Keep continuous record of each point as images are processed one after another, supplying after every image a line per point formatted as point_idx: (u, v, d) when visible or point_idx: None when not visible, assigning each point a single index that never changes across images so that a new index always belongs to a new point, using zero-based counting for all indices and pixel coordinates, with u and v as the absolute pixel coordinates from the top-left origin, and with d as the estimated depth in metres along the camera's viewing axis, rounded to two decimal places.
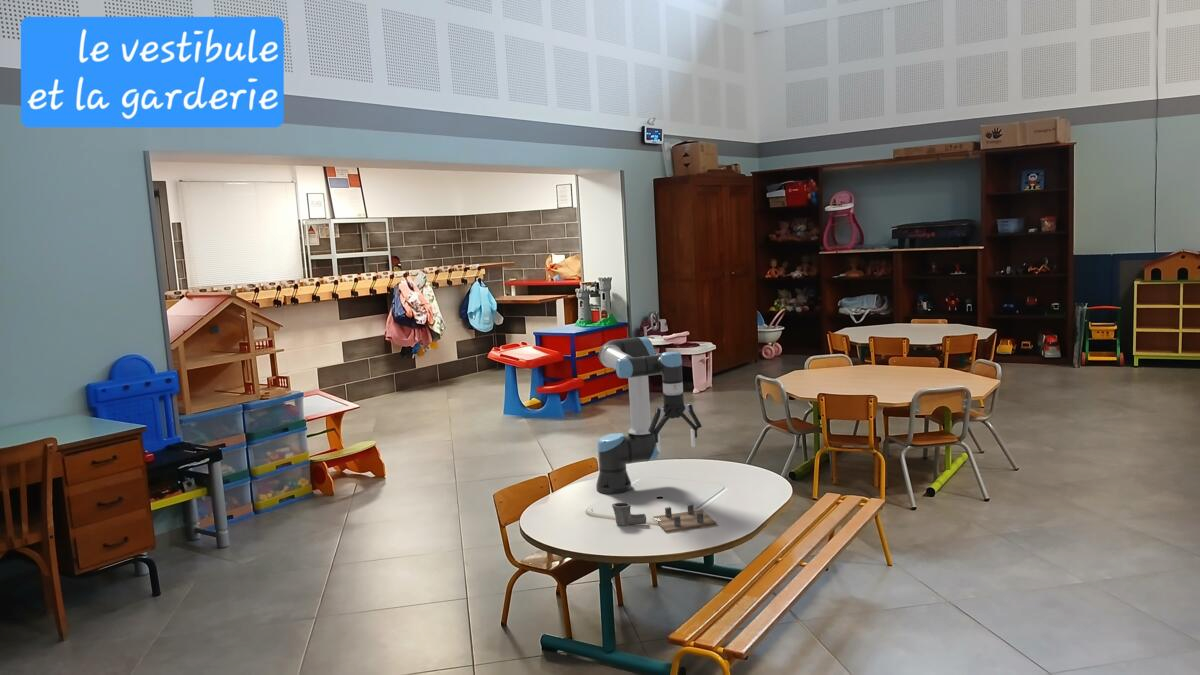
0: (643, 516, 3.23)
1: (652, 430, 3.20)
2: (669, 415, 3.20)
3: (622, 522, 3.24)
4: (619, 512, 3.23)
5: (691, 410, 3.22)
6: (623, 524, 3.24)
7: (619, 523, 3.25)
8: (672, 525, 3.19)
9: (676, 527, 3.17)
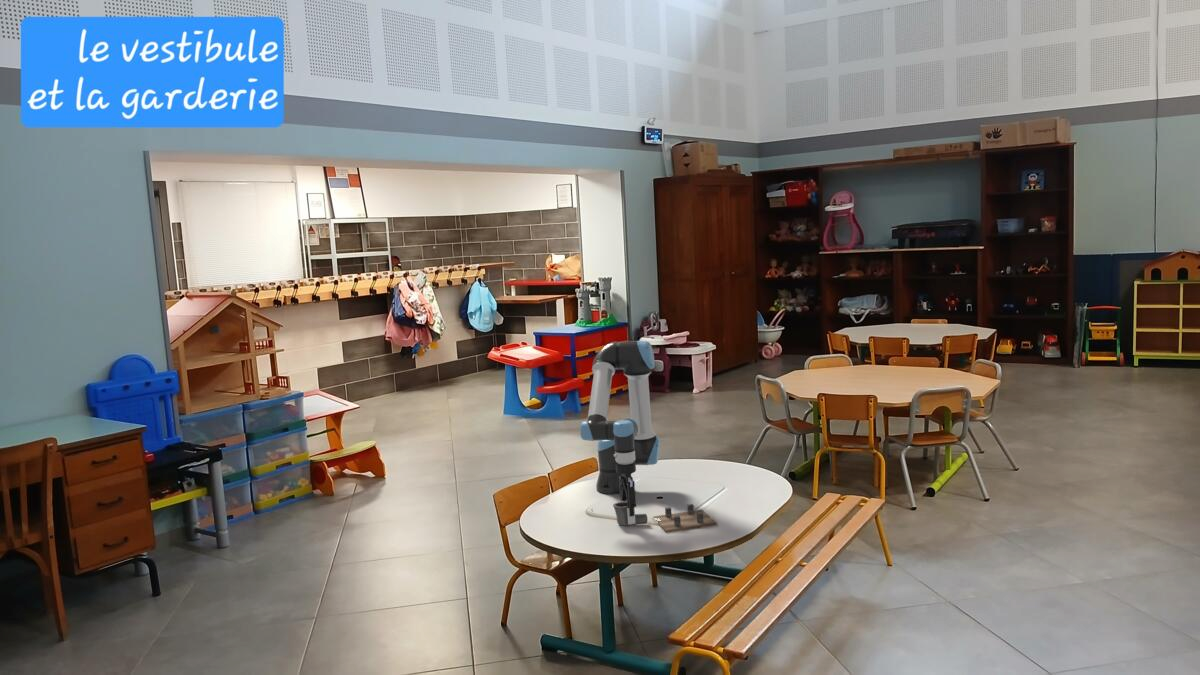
0: (644, 516, 3.23)
1: (620, 494, 3.31)
2: (621, 482, 3.26)
3: (624, 522, 3.24)
4: (620, 512, 3.23)
5: (627, 487, 3.18)
6: (624, 524, 3.24)
7: (620, 523, 3.24)
8: (672, 525, 3.19)
9: (676, 527, 3.17)
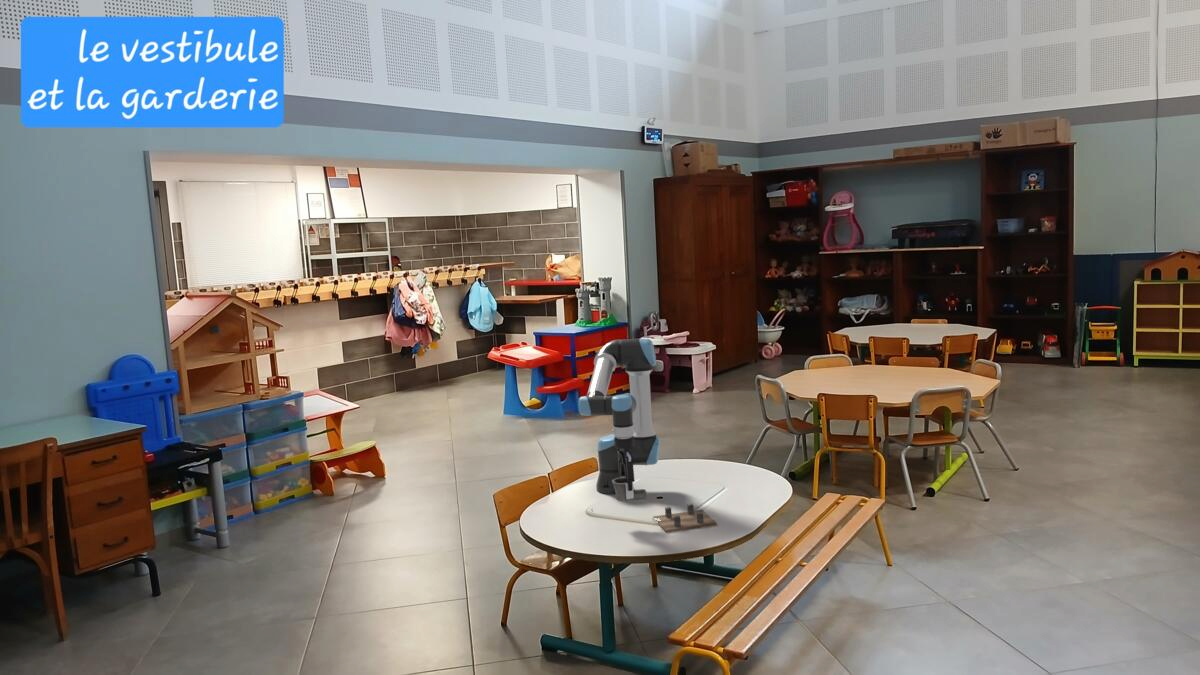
0: (643, 492, 3.22)
1: (619, 470, 3.29)
2: (619, 456, 3.24)
3: (623, 498, 3.23)
4: (619, 488, 3.22)
5: (626, 462, 3.17)
6: (623, 500, 3.23)
7: (619, 499, 3.24)
8: (672, 525, 3.19)
9: (676, 527, 3.17)
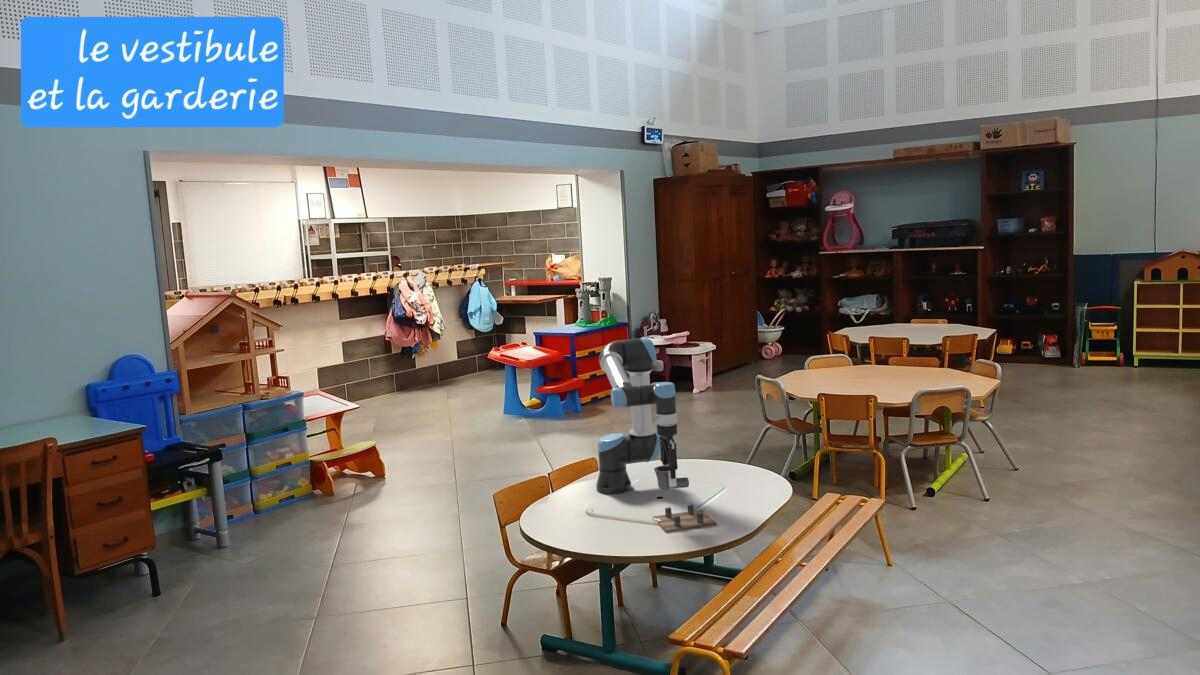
0: (686, 480, 3.20)
1: (661, 458, 3.28)
2: (662, 444, 3.23)
3: (665, 486, 3.21)
4: (662, 476, 3.20)
5: (669, 449, 3.15)
6: (666, 488, 3.21)
7: (662, 487, 3.22)
8: (672, 525, 3.19)
9: (676, 527, 3.17)
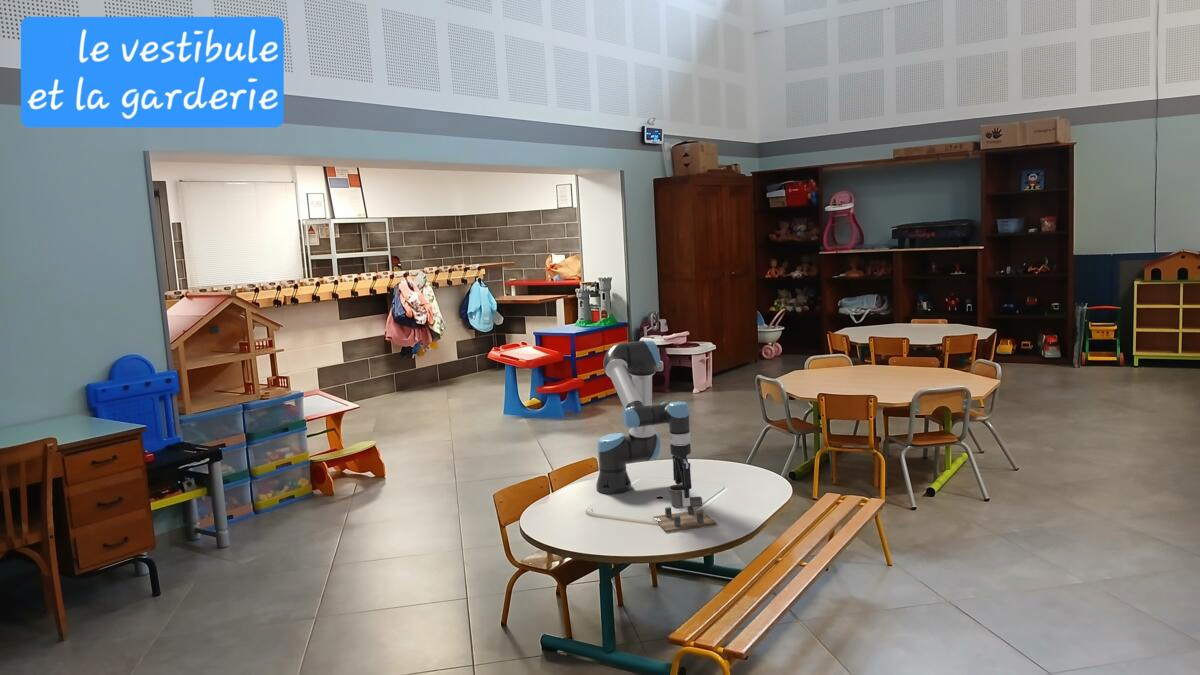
0: (700, 499, 3.21)
1: (674, 477, 3.28)
2: (675, 464, 3.23)
3: (679, 506, 3.22)
4: (676, 496, 3.21)
5: (683, 469, 3.16)
6: (679, 507, 3.22)
7: (675, 506, 3.22)
8: (672, 525, 3.19)
9: (676, 527, 3.17)
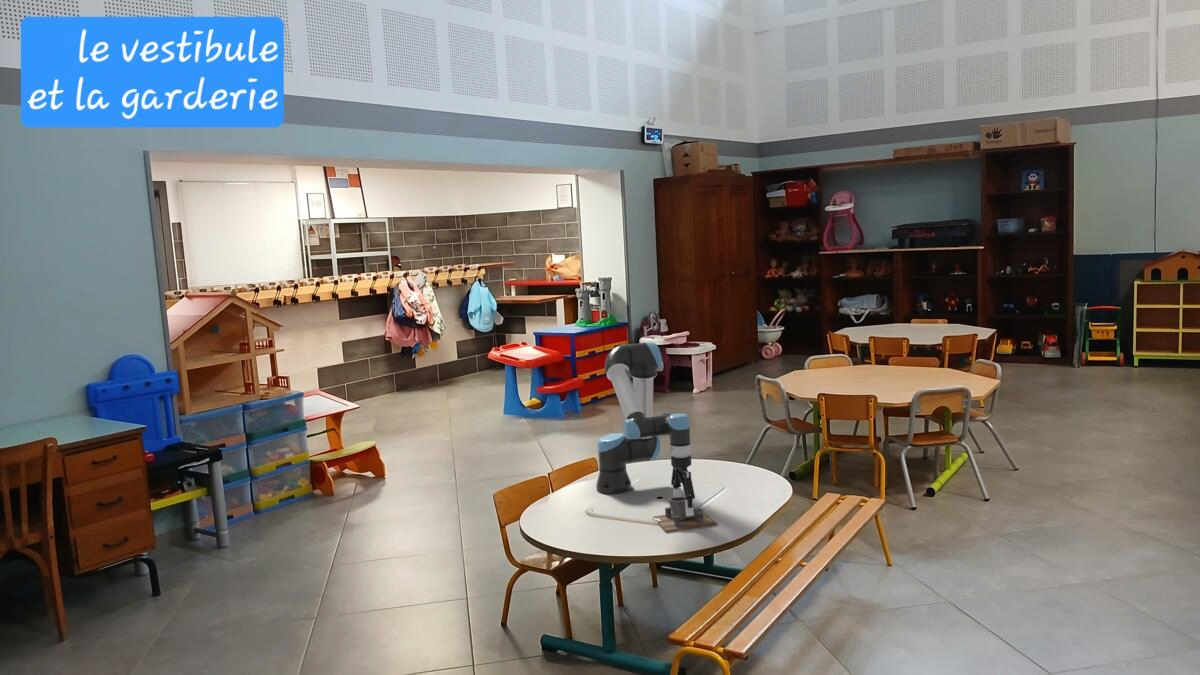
0: (700, 510, 3.22)
1: (671, 482, 3.32)
2: (675, 474, 3.25)
3: None
4: (676, 506, 3.22)
5: (684, 478, 3.16)
6: (680, 518, 3.23)
7: None
8: (672, 525, 3.19)
9: (676, 527, 3.17)
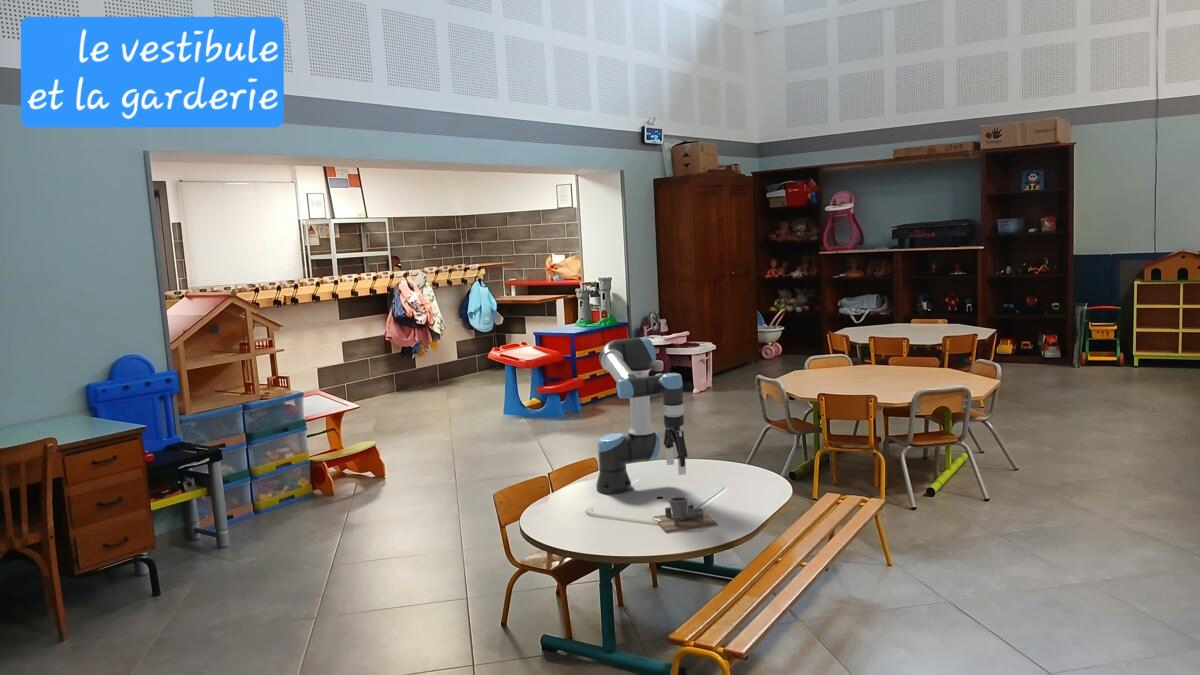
0: (700, 510, 3.22)
1: (664, 442, 3.33)
2: (668, 434, 3.25)
3: (680, 517, 3.23)
4: (676, 506, 3.22)
5: (677, 437, 3.17)
6: (680, 518, 3.23)
7: None
8: (672, 525, 3.19)
9: (676, 527, 3.17)
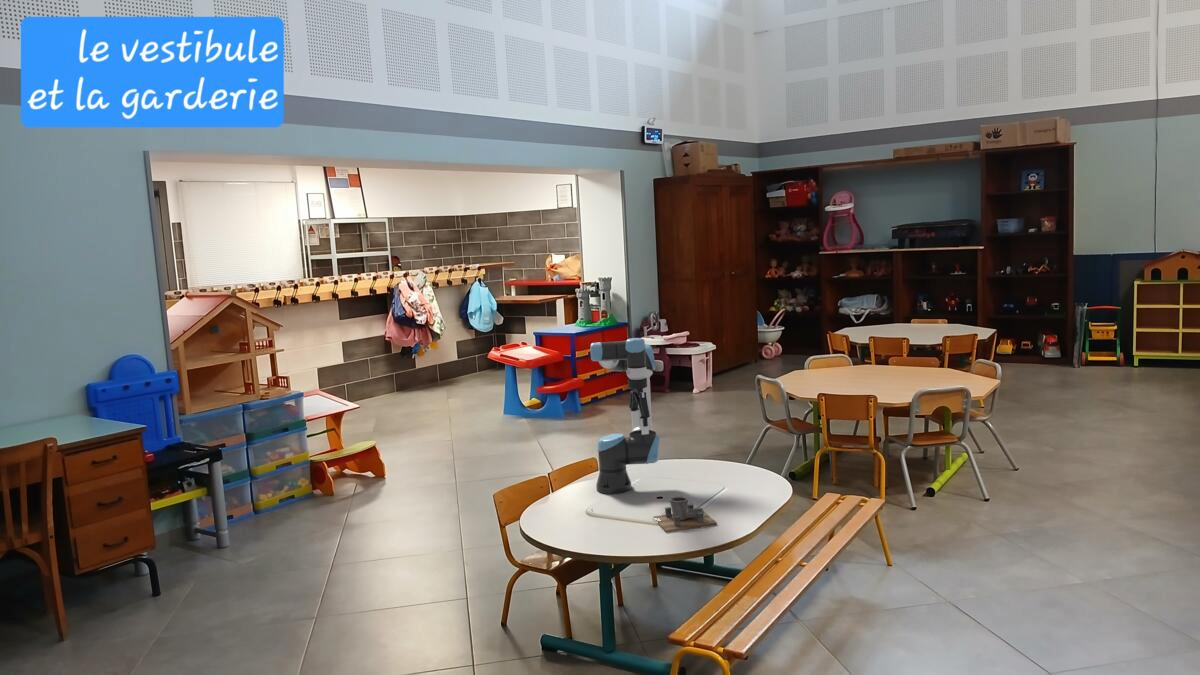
0: (701, 510, 3.22)
1: (629, 405, 3.48)
2: (632, 396, 3.40)
3: (680, 517, 3.23)
4: (677, 506, 3.22)
5: (640, 398, 3.32)
6: (681, 518, 3.23)
7: None
8: (672, 525, 3.19)
9: (676, 527, 3.17)
